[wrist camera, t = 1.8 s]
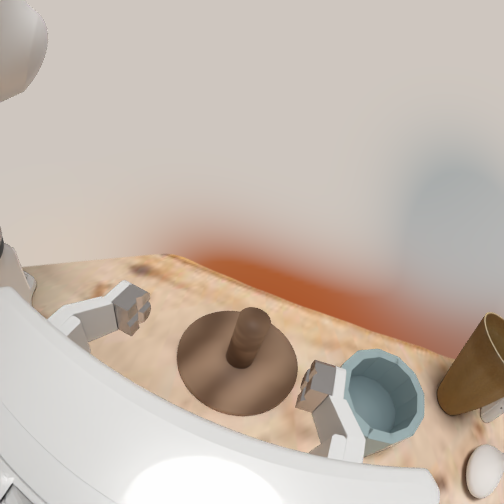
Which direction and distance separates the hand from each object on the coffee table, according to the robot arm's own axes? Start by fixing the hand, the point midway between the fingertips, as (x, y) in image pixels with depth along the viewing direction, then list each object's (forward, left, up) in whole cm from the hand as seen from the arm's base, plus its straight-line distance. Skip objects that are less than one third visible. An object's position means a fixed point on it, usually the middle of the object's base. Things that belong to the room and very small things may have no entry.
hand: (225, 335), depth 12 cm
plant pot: (+39, +21, -22) cm, 49 cm away
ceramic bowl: (+19, +13, -21) cm, 31 cm away
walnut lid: (0, +13, -22) cm, 25 cm away
